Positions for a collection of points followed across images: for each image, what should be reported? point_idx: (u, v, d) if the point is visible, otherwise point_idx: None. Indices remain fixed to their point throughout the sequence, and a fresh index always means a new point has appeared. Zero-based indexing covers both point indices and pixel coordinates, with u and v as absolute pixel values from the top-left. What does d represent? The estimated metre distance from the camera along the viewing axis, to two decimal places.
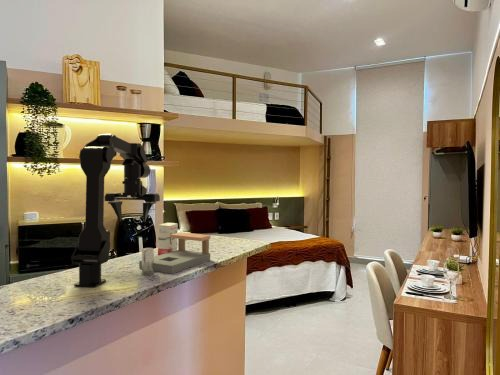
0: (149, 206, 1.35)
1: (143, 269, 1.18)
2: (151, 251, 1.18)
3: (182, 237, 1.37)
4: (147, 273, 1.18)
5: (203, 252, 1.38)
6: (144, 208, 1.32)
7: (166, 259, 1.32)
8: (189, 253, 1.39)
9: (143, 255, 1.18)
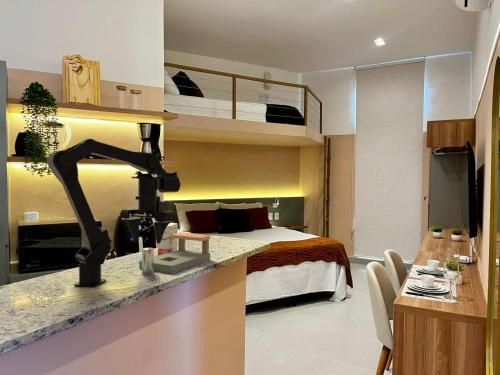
0: (164, 226, 1.17)
1: (143, 269, 1.18)
2: (151, 251, 1.18)
3: (182, 237, 1.37)
4: (147, 273, 1.18)
5: (203, 252, 1.38)
6: (155, 228, 1.14)
7: (166, 259, 1.32)
8: (189, 253, 1.39)
9: (143, 255, 1.18)
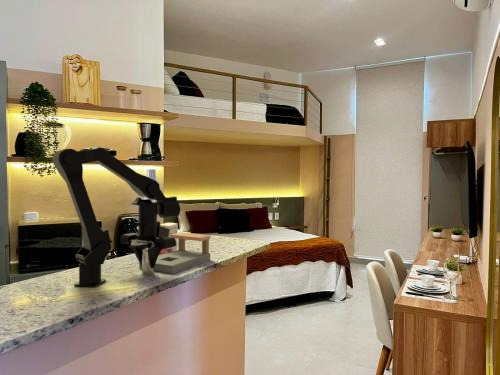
0: (157, 251, 1.18)
1: (143, 269, 1.18)
2: None
3: (182, 237, 1.37)
4: (147, 273, 1.18)
5: (203, 252, 1.38)
6: (149, 254, 1.16)
7: (166, 259, 1.32)
8: (189, 253, 1.39)
9: (143, 255, 1.18)
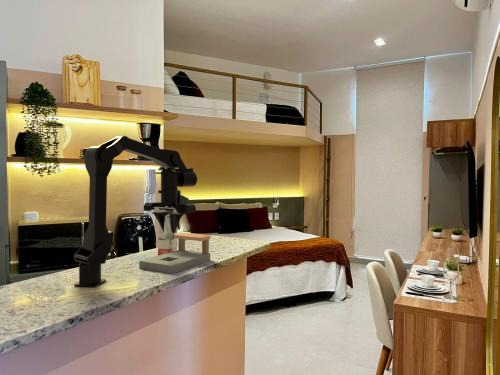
0: (178, 217, 1.28)
1: (165, 233, 1.27)
2: None
3: (182, 237, 1.37)
4: (169, 237, 1.27)
5: (203, 252, 1.38)
6: (171, 219, 1.25)
7: (166, 259, 1.32)
8: (189, 253, 1.39)
9: (165, 220, 1.27)
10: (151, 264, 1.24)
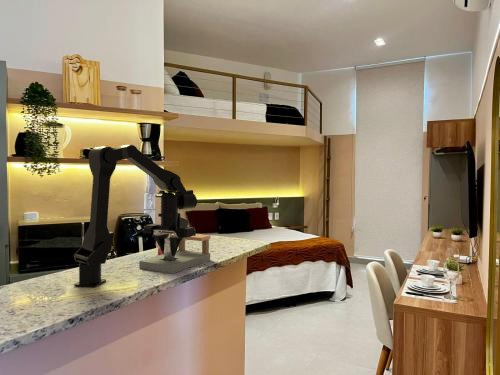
0: (178, 240, 1.28)
1: (165, 256, 1.28)
2: None
3: None
4: (169, 260, 1.27)
5: (203, 252, 1.38)
6: (171, 242, 1.25)
7: None
8: (189, 253, 1.39)
9: (165, 244, 1.27)
10: (151, 264, 1.24)
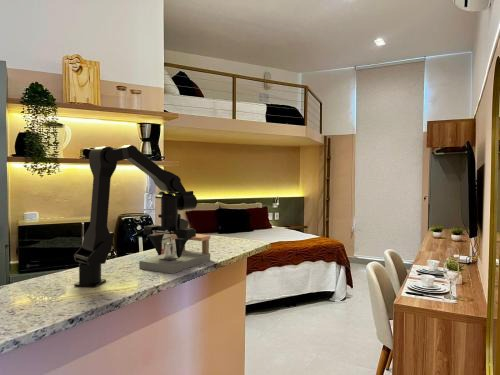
0: (184, 241, 1.27)
1: None
2: (172, 245, 1.28)
3: None
4: None
5: (203, 252, 1.38)
6: (176, 244, 1.24)
7: None
8: (189, 253, 1.39)
9: (165, 249, 1.27)
10: (151, 264, 1.24)
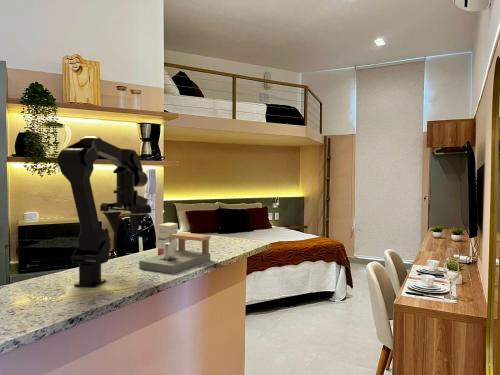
0: (140, 218, 1.23)
1: None
2: (172, 245, 1.28)
3: (182, 237, 1.37)
4: None
5: (203, 252, 1.38)
6: (131, 220, 1.21)
7: None
8: (189, 253, 1.39)
9: (165, 249, 1.27)
10: (151, 264, 1.24)
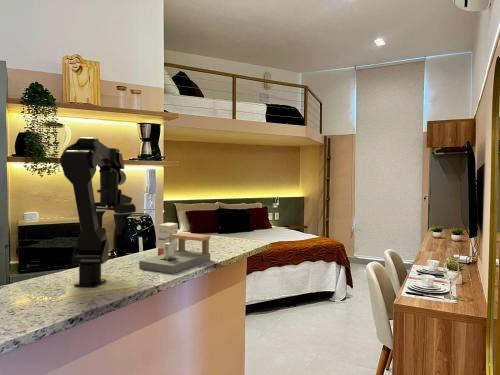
0: (124, 217, 1.22)
1: None
2: (172, 245, 1.28)
3: (182, 237, 1.37)
4: None
5: (203, 252, 1.38)
6: (115, 220, 1.20)
7: None
8: (189, 253, 1.39)
9: (165, 249, 1.27)
10: (151, 264, 1.24)
